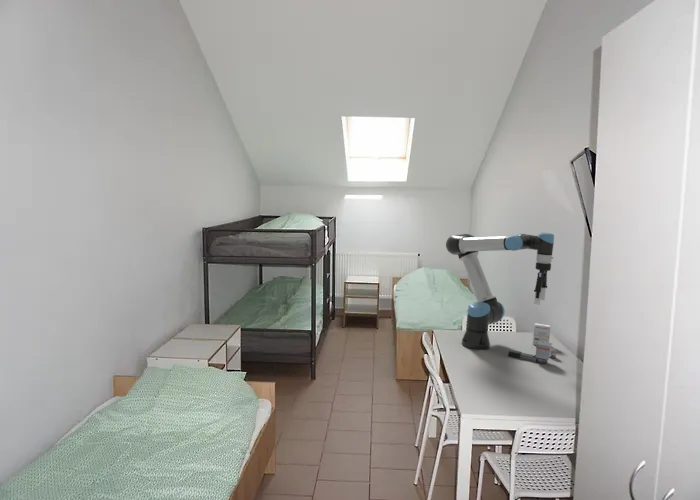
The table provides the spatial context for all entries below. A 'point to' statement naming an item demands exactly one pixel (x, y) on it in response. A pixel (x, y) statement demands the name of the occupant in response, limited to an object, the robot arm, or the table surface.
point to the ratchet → (526, 357)
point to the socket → (543, 350)
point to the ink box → (541, 333)
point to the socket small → (553, 353)
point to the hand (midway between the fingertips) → (539, 301)
